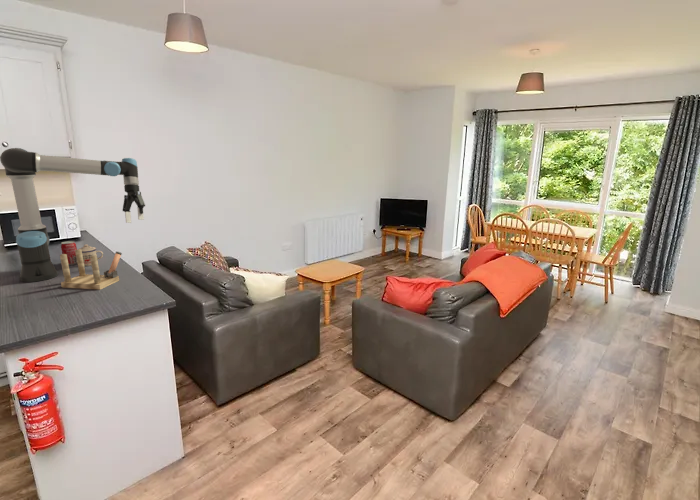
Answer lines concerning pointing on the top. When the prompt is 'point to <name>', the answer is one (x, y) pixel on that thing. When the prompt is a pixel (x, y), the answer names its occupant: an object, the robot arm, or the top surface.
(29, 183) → the robot arm
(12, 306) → the top surface
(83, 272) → the stool
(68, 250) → the soda can
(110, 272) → the folding leg
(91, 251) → the teacup with lid
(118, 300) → the top surface
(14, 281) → the top surface
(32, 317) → the top surface
